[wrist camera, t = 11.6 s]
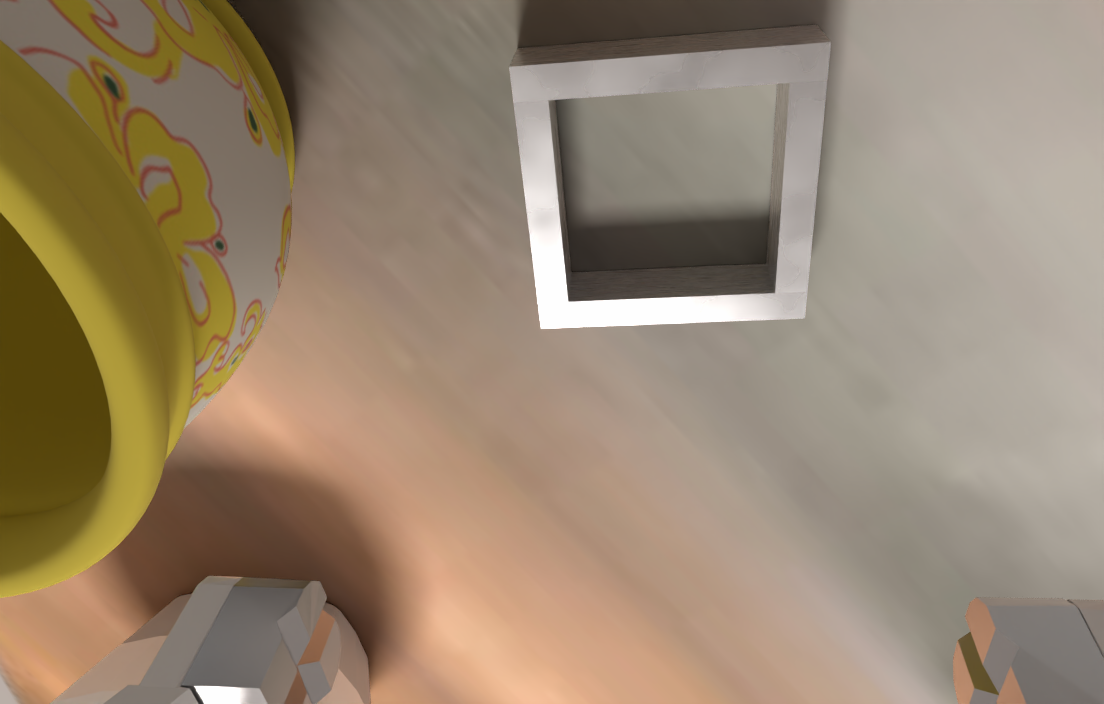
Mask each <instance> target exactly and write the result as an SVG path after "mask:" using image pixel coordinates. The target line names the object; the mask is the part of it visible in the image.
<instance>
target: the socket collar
mask: <svg viewBox="0 0 1104 704" xmlns="http://www.w3.org/2000/svg"><path fill="white" fill-rule="evenodd" d="M830 49H831V41H830V40H829V39H828V38H827V36H826V35H825V34H824V33H823V32H822V30H821V29H820V28H819V27H818V25H817V24H816V25H803V26H791V27H778V28H765V29H753V30H740V31H728V32H715V33H703V34H690V35H678V36H665V37H653V38H640V39H628V40H615V41H603V42H590V43H578V44H565V45H552V46H540V47H527V48H517V50H516V52H515V55H514V57H513V59H512V61H511V64H510V66H509V70H510V78H511V86H512V94H513V103H514V111H515V119H516V127H517V135H518V144H519V152H520V160H521V168H522V176H523V185H524V193H525V201H526V209H527V217H528V226H529V234H530V242H531V250H532V258H533V267H534V275H535V283H536V291H537V299H538V308H539V316H540V324H541V329H542V328H568V327H594V326H620V325H646V324H672V323H698V322H723V321H749V320H775V319H801V318H805V311H806V301H807V290H808V280H809V269H810V259H811V248H812V238H813V227H814V217H815V206H816V196H817V185H818V175H819V164H820V154H821V143H822V133H823V122H824V112H825V101H826V91H827V80H828V70H829V59H830ZM767 84H777V97H776V113H775V130H774V146H773V163H772V179H771V195H770V212H769V228H768V245H767V261H766V263H764V264H742V265H721V266H699V267H678V268H656V269H635V270H613V271H592V272H571V262H570V251H569V241H568V230H567V219H566V208H565V197H564V187H563V176H562V165H561V154H560V143H559V133H558V122H557V111H556V100H558V99H572V98H586V97H600V96H614V95H628V94H642V93H656V92H669V91H683V90H697V89H711V88H725V87H739V86H753V85H767Z"/></svg>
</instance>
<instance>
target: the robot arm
mask: <svg viewBox="0 0 1104 704" xmlns="http://www.w3.org/2000/svg"><path fill="white" fill-rule="evenodd" d="M326 599H327V596H326V594H325V592H324V589H323V587H322V585H321V583H320V581H306V580H288V579H270V578H252V577H228V576H208V577H206V578H205V579H204V580H203V581H202V582H200V583H199V584H198V585H197V586H196V588H195V590H194V591H193V593H192V595H191V596H190V598H189V600H188V602H187V603H186V605H185V607H184V608H183V610H182V612H181V614H180V615H179V617H178V619H177V620H176V622H175V624H174V626H173V627H172V629H171V631H170V632H169V634H168V636H167V638H166V639H165V641H164V643H163V644H162V646H161V648H160V650H159V651H158V653H157V655H156V657H155V658H154V660H153V662H152V663H151V665H150V667H149V669H148V670H147V672H146V674H145V675H144V677H143V679H142V681H141V682H140V684H139V685H127V686H126V687H125V688H123V689H122V690H121V691H119V692H118V693H117V694H115V695H114V696H113V697H111V698H110V699H109V700H107V701H106V702H105V703H104V704H317V703H318V702H319V701H320V700H321V699H322V698H323V697H325V696H326V695H327V694H328V693H329V692H330V691H331V690H332V687H333V684H334V681H335V678H336V675H337V672H338V668H339V661H340V653H341V639H340V631H339V628H338V625H337V622H336V620H335V618H333V617H332V616H331V615H329V614H328V613H327V612H325V611H324V610H323V607H324V604H325V602H326ZM965 618H966V620H967V623H968V626H969V629H970V631H971V632H969V633H968V634H966V635H965V636H963V637H962V638H960V639H959V640H958V641H957V645H956V649H955V653H954V657H953V676H954V685H955V690H956V695H957V700H958V703H959V704H1104V600H1065V599H1063V598H1006V597H976V598H975V599H974V600H972V601H971V602H970V604H969V607H968V610H967V613H966V615H965Z"/></svg>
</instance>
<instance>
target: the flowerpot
mask: <svg viewBox="0 0 1104 704" xmlns="http://www.w3.org/2000/svg"><path fill="white" fill-rule="evenodd" d="M294 171H295V150H294V138H293V131H292V125H291V121H290V116H289V112H288V108H287V105H286V102H285V99H284V95H283V93H282V90H281V87H280V85H279V82H278V80H277V77H276V75H275V73H274V71H273V69H272V67H271V64H270V63H269V61H268V59H267V57H266V55H265V53H264V52H263V50H262V48H261V46H260V45H259V43H258V42H257V40H256V38H255V37H254V35H253V34H252V32H251V31H250V29H249V28H248V27H247V25H246V24H245V22H244V21H243V20H242V18H241V17H240V16H239V15H238V13H237V12H236V11H235V10H234V8H233V7H232V6H231V5H230V4H229V3H228V1H227V0H0V598H3V597H10V596H15V595H19V594H24V593H29V592H33V591H36V590H39V589H43V588H46V587H49V586H52V585H55V584H57V583H60V582H62V581H64V580H67V579H69V578H71V577H73V576H75V575H77V574H79V573H81V572H83V571H84V570H86V569H88V568H89V567H91V566H92V565H94V564H95V563H97V562H98V561H100V560H101V559H103V558H104V557H105V556H106V555H107V554H109V553H110V552H111V551H112V550H113V549H114V548H116V547H117V546H118V545H119V544H120V543H121V542H122V541H123V540H124V538H125V537H126V536H127V535H128V534H129V533H130V532H131V531H132V530H133V528H134V527H135V526H136V524H137V523H138V521H139V520H140V519H141V517H142V516H143V514H144V513H145V511H146V509H147V508H148V506H149V504H150V502H151V500H152V498H153V496H154V494H155V492H156V489H157V487H158V484H159V481H160V479H161V476H162V472H163V468H164V464H165V461H166V459H167V458H168V456H169V455H170V453H171V452H172V450H173V449H174V447H175V445H176V444H177V442H178V440H179V438H180V436H181V434H182V432H183V429H184V428H185V427H186V426H187V425H188V424H189V423H190V422H191V421H192V420H193V419H194V418H195V417H196V416H197V415H198V414H199V413H200V412H201V411H202V410H203V409H204V408H205V407H206V406H207V405H208V404H209V402H210V401H211V400H212V399H213V398H214V397H215V396H216V394H217V393H218V392H219V391H220V390H221V389H222V387H223V386H224V385H225V384H226V383H227V381H228V380H229V379H230V377H231V376H232V375H233V373H234V372H235V370H236V369H237V368H238V366H239V365H240V363H241V362H242V361H243V359H244V358H245V356H246V355H247V353H248V352H249V350H250V349H251V347H252V345H253V344H254V342H255V340H256V339H257V337H258V335H259V333H260V331H261V329H262V328H263V326H264V324H265V322H266V320H267V318H268V316H269V314H270V311H271V309H272V307H273V304H274V302H275V299H276V297H277V294H278V291H279V288H280V285H281V281H282V278H283V275H284V271H285V267H286V262H287V257H288V252H289V246H290V236H291V225H292V200H291V192H292V187H293V181H294Z"/></svg>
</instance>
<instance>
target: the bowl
mask: <svg viewBox="0 0 1104 704" xmlns="http://www.w3.org/2000/svg"><path fill="white" fill-rule="evenodd" d="M191 595H192V594H187V595H181V596H179V597H177V598H175V599H174V600H173V601H172V602H171V603H169V604H168V605H167V606H166V607H165V608H163V609H162V610H161V611H160V612H159V613H158V614H156V615H155V616H154V617H153V618H152V619H150V620H149V621H148V622H147V623H146V624H145V625H143V626H142V627H141V628H140V629H139V630H137V631H136V632H135V633H134V634H133V635H132V636H130V637H129V638H128V639H127V640H126V641H124V642H123V643H122V644H121V645H119V646H117V647H116V648H115V649H114V650H113V651H111V652H110V653H109V654H108V655H107V656H106V657H104V658H103V659H102V660H101V661H100V662H98V663H97V664H96V665H95V666H94V667H93V668H91V669H90V670H89V671H88V672H87V673H85V674H84V675H83V676H82V677H81V678H80V679H78V680H77V681H76V682H75V683H74V684H72V685H71V686H70V687H69V688H68V689H67V690H65V691H64V692H63V693H62V694H61V695H59V696H58V697H57V698H56V699H55V700H54V701H52V702H51V703H50V704H104V703H105V702H106V701H107V700H109V699H110V698H111V697H113V696H114V695H115V694H117V693H118V692H119V691H121V690H122V689H123V688H125V687H126V686H127V685H139V684H140V682H141V681H142V679H143V677H144V675H145V674H146V672H147V670H148V669H149V667H150V665H151V663H152V662H153V660H154V658H155V657H156V655H157V653H158V651H159V650H160V648H161V646H162V644H163V643H164V641H165V639H166V638H167V636H168V634H169V632H170V631H171V629H172V627H173V626H174V624H175V622H176V620H177V619H178V617H179V615H180V614H181V612H182V610H183V608H184V607H185V605H186V603H187V602H188V600H189V598H190V596H191ZM323 610H324V611H325V612H327V613H328V614H329V615H331V616H332V617H333V618H335V620H336V622H337V625H338V628H339V631H340V639H341V653H340V661H339V668H338V672H337V675H336V678H335V681H334V684H333V687H332V690H331V691H330V692H329V693H328V694H327V695H326V696H325V697H323V698H322V699H321V700H320V701H319V702H318V703H317V704H371V698H370V683H369V668H368V658H367V655H366V653H365V651H364V649H363V647H362V645H361V643H360V640H359V638H358V636H357V634H356V632H355V631H354V629H353V628H352V626H351V625H350V624H349V622H348V621H347V619H346V618H345V617H344V615H343V614H342V612H341V611H340V610H339V609H337V608H336V607H335V606H333V605H331V604H328V603H325V604H324V607H323Z"/></svg>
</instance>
